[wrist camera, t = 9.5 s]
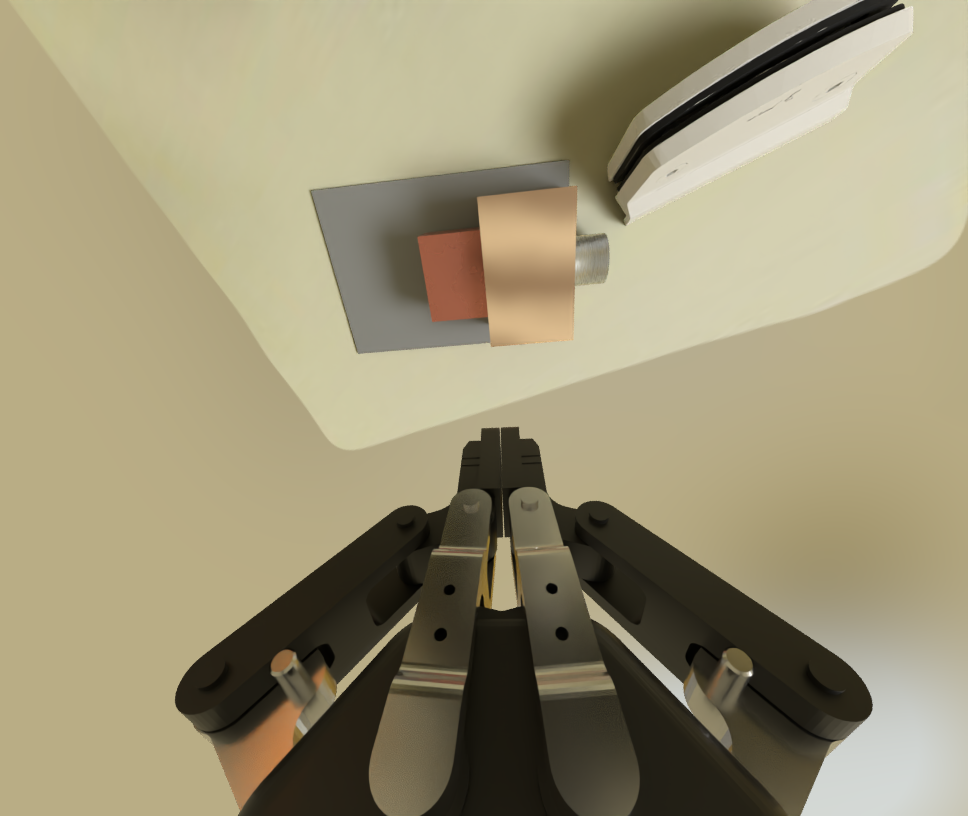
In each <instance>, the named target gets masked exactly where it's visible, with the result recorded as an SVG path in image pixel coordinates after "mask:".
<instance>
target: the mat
mask: <svg viewBox="0 0 968 816" xmlns="http://www.w3.org/2000/svg"><path fill="white" fill-rule="evenodd" d="M560 187H569V160H564V161H555V162H547V163H539V164H530V165H522V166H514V167H505V168H497V169H488V170H480V171H472V172H463V173H455V174H447V175H438V176H430V177H422V178H413V179H405V180H396V181H388V182H380V183H371V184H363V185H355V186H346V187H338V188H329V189H321V190H313V191H311V193H312V196H313V200H314V203H315V207H316V210H317V213H318V217H319V220H320V224H321V227H322V231H323V234H324V238H325V241H326V244H327V248H328V251H329V255H330V258H331V262H332V265H333V269H334V272H335V276H336V279H337V282H338V286H339V289H340V293H341V296H342V300H343V303H344V307H345V310H346V313H347V317H348V320H349V324H350V327H351V331H352V334H353V338H354V341H355V344H356V348H357V351H358V354H360V353H372V352H384V351H396V350H408V349H420V348H432V347H444V346H456V345H468V344H480V343H491V342H490V331H489V320H488V317H482V318H471V319H460V320H449V321H437V322H432V319H431V313H430V307H429V301H428V296H427V290H426V284H425V278H424V272H423V267H422V261H421V255H420V249H419V244H418V238H417V237H418V236H420V235H422V234H424V233H428V232H437V231H447V230H456V229H465V228H474V227H480V224H479V213H478V202H477V197H481V196H490V195H499V194H508V193H516V192H525V191H534V190H543V189H552V188H560Z"/></svg>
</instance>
